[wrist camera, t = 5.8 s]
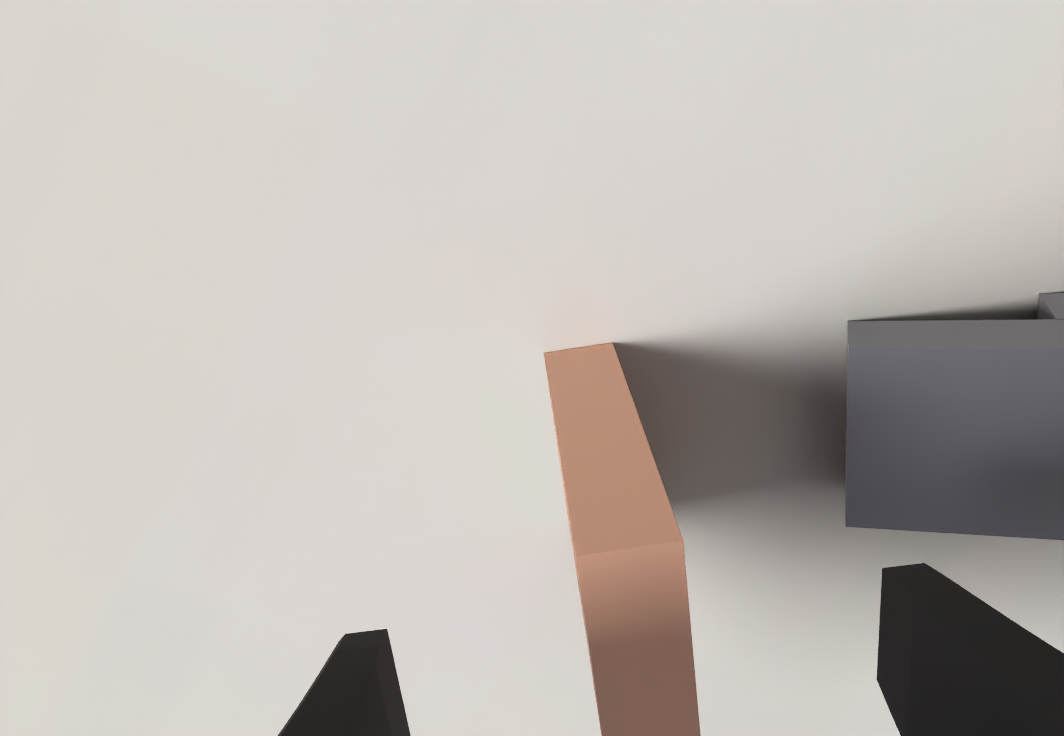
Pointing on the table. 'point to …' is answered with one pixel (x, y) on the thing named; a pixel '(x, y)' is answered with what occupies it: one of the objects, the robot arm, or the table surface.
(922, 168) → the table surface
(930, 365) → the domino
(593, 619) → the domino
